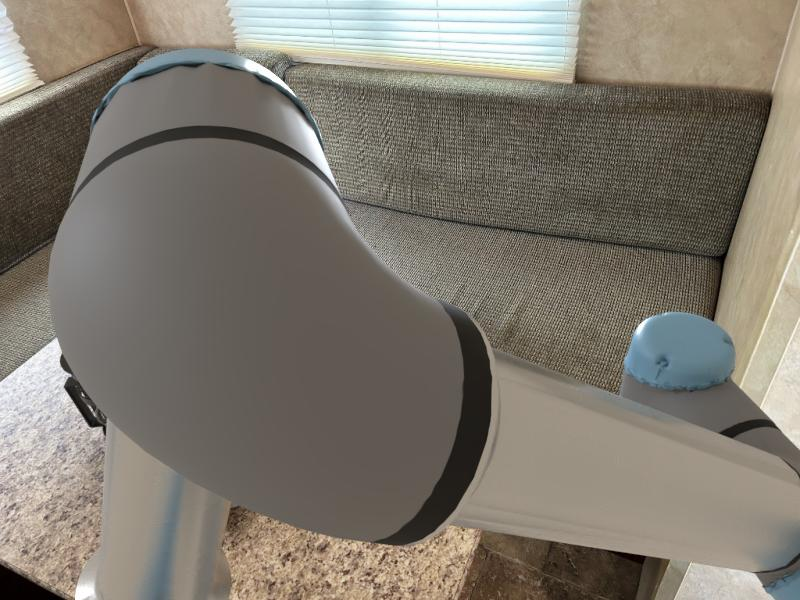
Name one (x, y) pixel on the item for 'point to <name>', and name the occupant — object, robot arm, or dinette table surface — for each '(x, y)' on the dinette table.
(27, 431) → the dinette table surface
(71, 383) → the french press
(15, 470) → the dinette table surface
